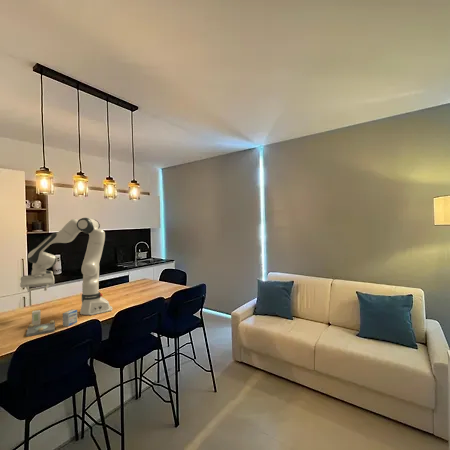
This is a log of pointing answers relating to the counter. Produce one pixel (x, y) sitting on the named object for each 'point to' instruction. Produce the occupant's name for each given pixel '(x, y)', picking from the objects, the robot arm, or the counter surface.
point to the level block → (36, 317)
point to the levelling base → (35, 332)
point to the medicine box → (69, 318)
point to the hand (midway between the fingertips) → (37, 290)
